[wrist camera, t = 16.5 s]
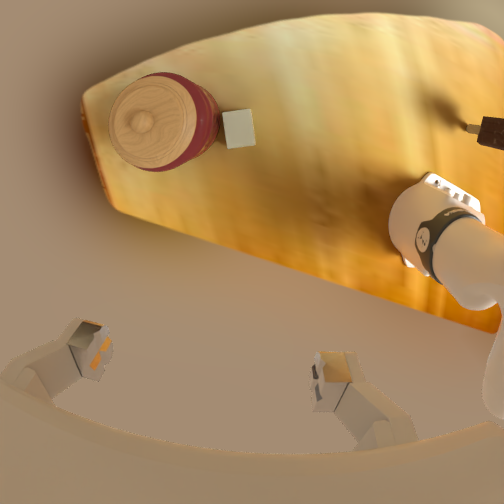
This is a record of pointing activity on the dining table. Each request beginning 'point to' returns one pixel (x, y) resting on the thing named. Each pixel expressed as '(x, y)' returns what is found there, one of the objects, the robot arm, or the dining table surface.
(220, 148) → the dining table surface
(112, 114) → the canister
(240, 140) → the sage block
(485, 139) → the ice cream bar
